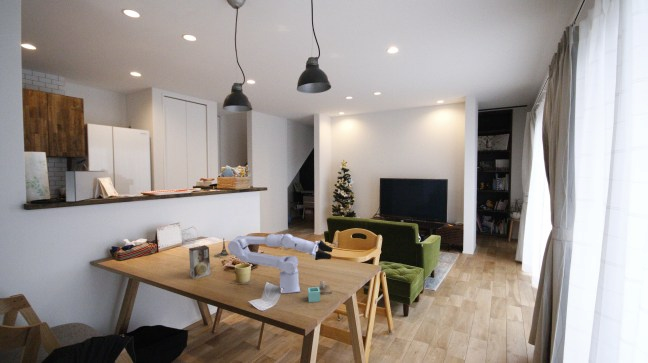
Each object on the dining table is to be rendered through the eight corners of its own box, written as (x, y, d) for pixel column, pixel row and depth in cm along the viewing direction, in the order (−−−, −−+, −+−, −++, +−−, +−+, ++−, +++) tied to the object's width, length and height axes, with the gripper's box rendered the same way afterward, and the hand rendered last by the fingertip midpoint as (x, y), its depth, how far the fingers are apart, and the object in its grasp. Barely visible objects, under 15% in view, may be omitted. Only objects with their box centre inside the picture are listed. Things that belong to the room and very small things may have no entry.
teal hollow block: (309, 302, 129) (308, 292, 128) (308, 297, 134) (307, 287, 133) (320, 301, 129) (319, 291, 129) (318, 296, 134) (318, 287, 134)
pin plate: (315, 294, 136) (315, 285, 136) (313, 287, 144) (313, 279, 144) (331, 293, 137) (331, 284, 137) (329, 286, 145) (329, 277, 145)
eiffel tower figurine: (224, 251, 212) (223, 233, 211) (236, 252, 209) (235, 234, 208) (210, 258, 197) (210, 238, 196) (223, 259, 194) (222, 239, 194)
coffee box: (206, 272, 169) (204, 244, 168) (210, 274, 164) (209, 246, 164) (189, 276, 163) (188, 248, 162) (194, 279, 158) (193, 250, 157)
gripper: (304, 244, 133) (332, 252, 132) (309, 233, 147) (334, 240, 147) (300, 258, 135) (328, 266, 134) (305, 245, 149) (331, 252, 148)
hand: (331, 253), depth 140 cm, fingers open, 7 cm apart
